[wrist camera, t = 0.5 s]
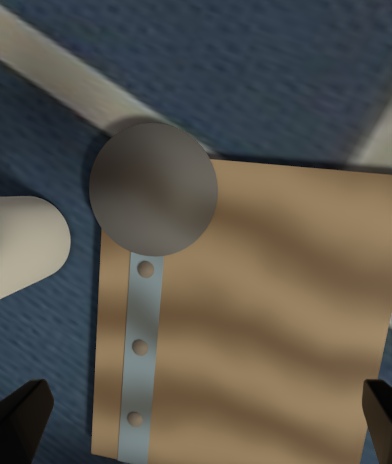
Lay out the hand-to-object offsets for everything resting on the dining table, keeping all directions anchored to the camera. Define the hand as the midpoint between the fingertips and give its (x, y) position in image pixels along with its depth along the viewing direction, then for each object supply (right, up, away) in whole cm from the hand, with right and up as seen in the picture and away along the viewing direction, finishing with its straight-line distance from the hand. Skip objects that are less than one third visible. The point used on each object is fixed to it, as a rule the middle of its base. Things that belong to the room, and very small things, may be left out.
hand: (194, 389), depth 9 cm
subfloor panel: (+2, -2, +14) cm, 14 cm away
